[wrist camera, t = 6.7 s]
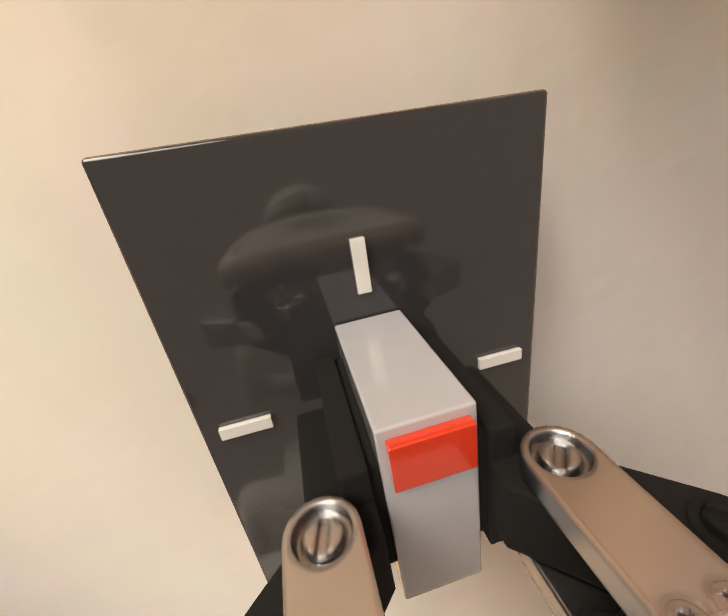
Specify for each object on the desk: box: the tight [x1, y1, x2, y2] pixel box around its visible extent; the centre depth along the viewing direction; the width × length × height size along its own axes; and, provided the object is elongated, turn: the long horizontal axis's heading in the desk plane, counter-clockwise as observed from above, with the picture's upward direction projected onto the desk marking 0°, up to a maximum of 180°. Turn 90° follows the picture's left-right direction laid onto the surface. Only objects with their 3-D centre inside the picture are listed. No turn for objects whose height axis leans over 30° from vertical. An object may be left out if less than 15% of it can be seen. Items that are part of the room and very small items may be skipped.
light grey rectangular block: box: [335, 310, 482, 599], centre depth 8 cm, size 5×2×4 cm, turn 9°
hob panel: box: [82, 89, 547, 582], centre depth 12 cm, size 14×10×3 cm
